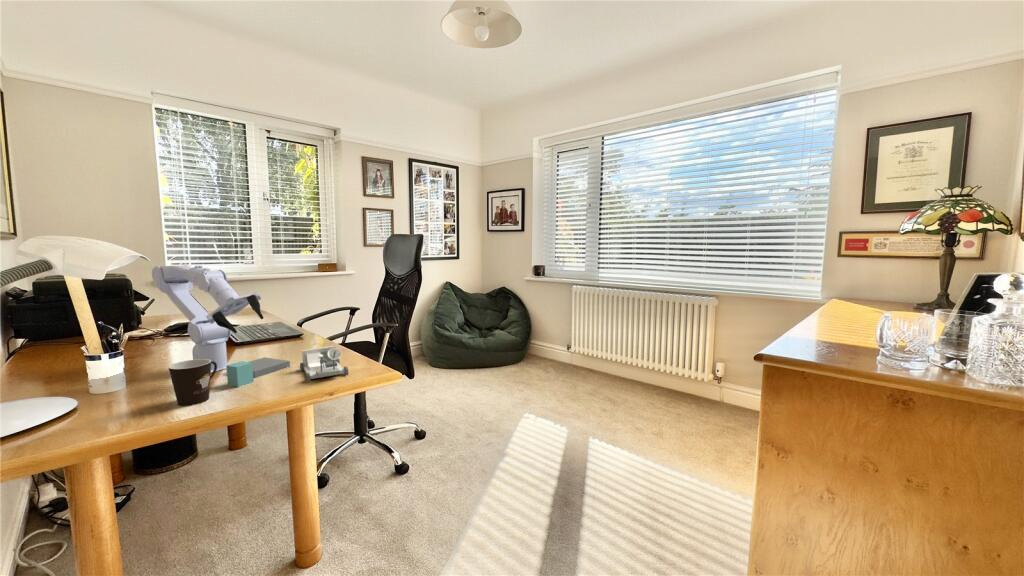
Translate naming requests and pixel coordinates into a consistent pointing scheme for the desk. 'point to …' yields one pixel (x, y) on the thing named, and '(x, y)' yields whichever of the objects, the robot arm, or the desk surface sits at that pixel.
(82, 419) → the desk surface
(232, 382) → the teal block
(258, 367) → the slate base
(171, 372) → the coffee mug
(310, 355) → the toy car
